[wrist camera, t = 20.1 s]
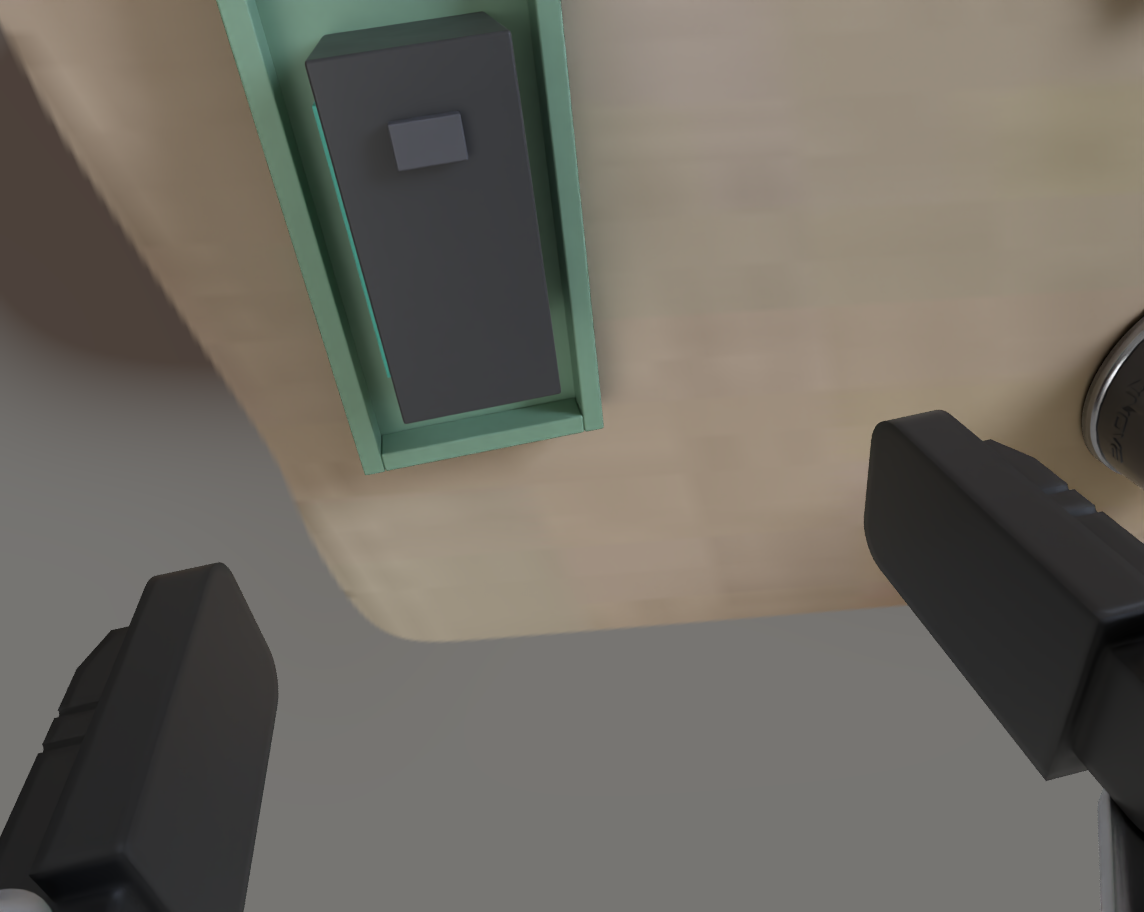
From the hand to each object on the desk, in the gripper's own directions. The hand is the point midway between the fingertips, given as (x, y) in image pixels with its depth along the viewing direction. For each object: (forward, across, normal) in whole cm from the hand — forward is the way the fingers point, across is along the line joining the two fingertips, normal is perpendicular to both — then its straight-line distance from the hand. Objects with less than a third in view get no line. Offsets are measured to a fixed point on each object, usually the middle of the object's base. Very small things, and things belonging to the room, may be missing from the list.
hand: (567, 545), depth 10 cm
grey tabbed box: (+17, +1, 0) cm, 17 cm away
